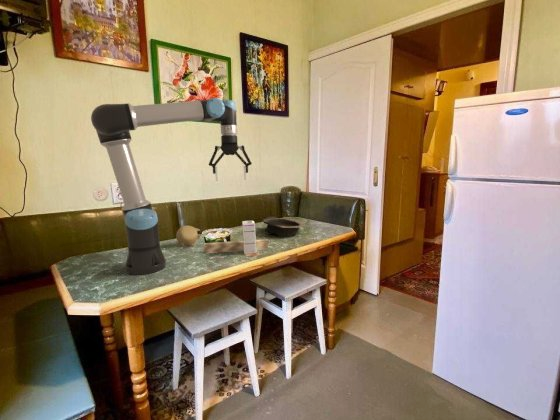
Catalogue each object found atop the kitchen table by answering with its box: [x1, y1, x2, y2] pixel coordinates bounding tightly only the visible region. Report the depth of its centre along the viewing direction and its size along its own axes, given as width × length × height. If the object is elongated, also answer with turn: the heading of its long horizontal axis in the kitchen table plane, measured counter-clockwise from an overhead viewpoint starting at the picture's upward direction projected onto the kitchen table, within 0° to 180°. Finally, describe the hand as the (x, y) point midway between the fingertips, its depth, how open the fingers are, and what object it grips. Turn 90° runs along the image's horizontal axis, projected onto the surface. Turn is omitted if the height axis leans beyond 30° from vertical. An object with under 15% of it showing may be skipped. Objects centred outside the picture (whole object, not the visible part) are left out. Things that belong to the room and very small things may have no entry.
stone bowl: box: [261, 215, 306, 238], centre depth 174 cm, size 25×25×9 cm
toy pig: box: [175, 225, 202, 247], centre depth 152 cm, size 10×12×11 cm
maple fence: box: [203, 238, 269, 260], centre depth 140 cm, size 30×12×4 cm, turn 100°
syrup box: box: [241, 220, 257, 255], centre depth 141 cm, size 6×6×14 cm
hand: (231, 180), depth 147 cm, fingers open, 13 cm apart
